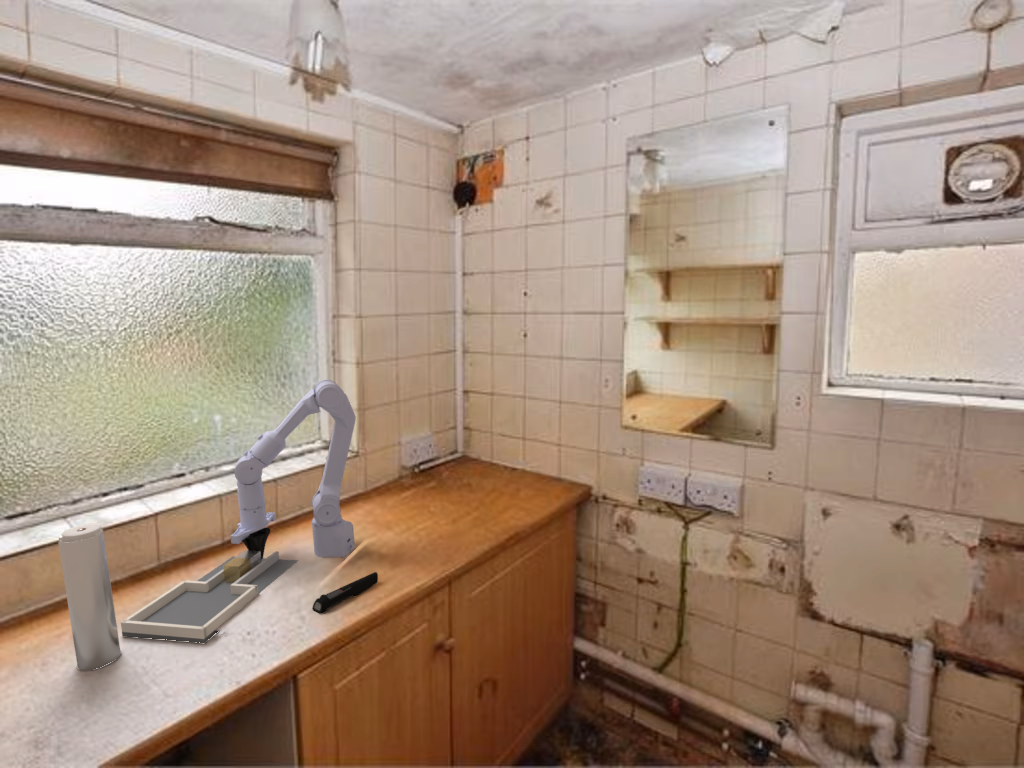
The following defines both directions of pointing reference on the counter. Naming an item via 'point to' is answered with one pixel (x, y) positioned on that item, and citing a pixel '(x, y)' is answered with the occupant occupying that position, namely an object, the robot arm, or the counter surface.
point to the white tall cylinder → (89, 596)
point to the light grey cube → (251, 557)
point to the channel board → (202, 603)
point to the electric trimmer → (344, 593)
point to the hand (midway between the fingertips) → (257, 559)
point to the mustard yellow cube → (236, 569)
